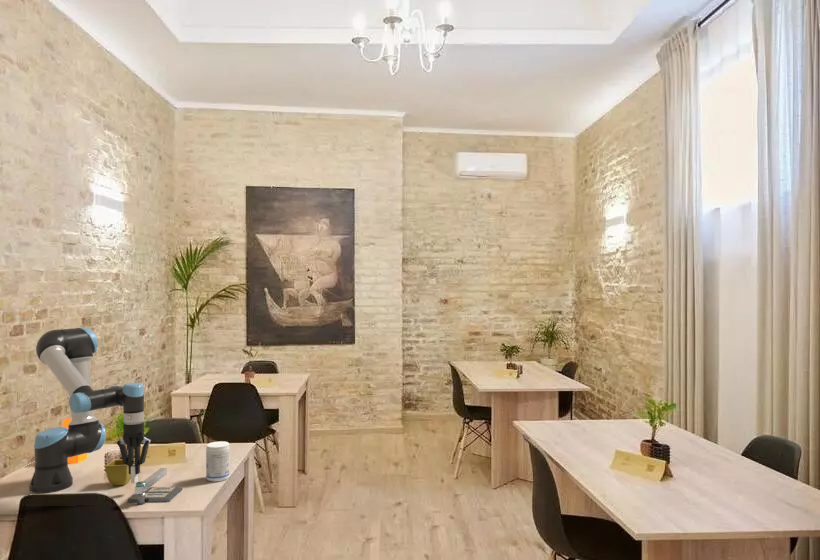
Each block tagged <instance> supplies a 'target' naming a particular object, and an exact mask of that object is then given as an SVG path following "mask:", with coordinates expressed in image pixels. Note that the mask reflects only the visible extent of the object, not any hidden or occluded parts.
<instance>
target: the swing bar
mask: <svg viewBox="0 0 820 560" xmlns="http://www.w3.org/2000/svg"><path fill="white" fill-rule="evenodd" d="M167 473H168V467H164V468H163V467H160V468H159V469H158V470H156V471H155V472H154V473H152V474H151V475H149V476H148V477H147V478H146V479H144V480H141V481H137V482H136V483H135V486H134V494H142V493H143V492H145V491H146V490H147V489H148V488H150V487H153V486H154V485H155V484H156V483H158V482H159V481H160V480H161V479H163V478H164V477H165V476H166V475H167Z"/></svg>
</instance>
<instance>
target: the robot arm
mask: <svg viewBox="0 0 820 560" xmlns="http://www.w3.org/2000/svg"><path fill="white" fill-rule="evenodd" d="M98 347H99V341H98V338H97V335H96V333H95V332H94V331H93V330H92V329H91V328H88V327H75V328H74V327H73V328H61V329H52V330H49V331H47V332H45V333H44V334H42V335H41V336H40V337H39V339H38V340H37V343H36V348H35V353H36V356H37V357H38V360H39V361H40V362H41V363H42V364H43V365H47V367H48V368H49V369H50V371H51V372H52V374H54V376H55V378H56V379H57V380H58V381H59V383H60V384H61V386H62V387H63V388H64V390H65V391H66V392H67V394H68V395H69V399H68V406H69V408H70V412H71V419H72V420H71V422H70V423H69V424H68V429H67V428H66V427H62V426H57V427H51V428H47V429H45V430H43V431H40V432H38V433H37V434H36V435H35V438H34V445H33V447H34V448H33V449H34V471H33V475H32V478H31V480H30V484H29V492H31V491H32V492H31V493H33V492H34V494H45V493H54V492H58V491H62V490H65V489H67V488H69V487H71V486H72V485H73V482H74V481H73V480H74V479H73V476H72V474H71V470H70V468H69V463H68V458H69V457H73V456H77V455H81V454H85V453H87V454H90V453H93V452H96V451H98V450H100V449H102V447H103V446H104V445H105V442H106V438H107V429H106V428H105V425H104V424H103V423H101V422H100V421H99V420H100V419H99V418H98V417H96V416H95V410H101V409H107V408H113V407H119V406H120V407H122V410H123V412H122V413H123V415H122V417H123V418H122V421H123V423H124V424H123V426H122V427H123V428H122V429H123V435H122V438H121V439H119V440H118V441H116V444H117V446H118V448H119V451H120V455H121V460H123V464H124V465H128V466H129V474H131V479H130V484H136V483H137V482H139V474H140V473H141V465H143V464H144V463H145V462H146V457H147V455H148V450H149V445H150V444H151V442H152V439H151V438H147V437H146V435H145V422H144V421H145V391H144V389H145V388H144V384H143V383H141V382H130V383H125V384H123V385H122V386H121V385H110V386H109V387H108V388H102V389H95V390H94V389H93V387H92V384H93V383H92V375H91V365H90V364H91V363H90V362H91V360H92V359H94V354H95V353H96V352H97V351H98ZM142 443H143V445H142ZM141 445H142V446H141ZM141 447H142V449H141ZM134 459H135V465H133V464H134Z"/></svg>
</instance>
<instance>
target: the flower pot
mask: <svg viewBox="0 0 820 560" xmlns="http://www.w3.org/2000/svg"><path fill="white" fill-rule="evenodd" d="M133 465H135V458H134V464H133ZM105 472H106V477H107V480H108V482H109V483H110V485H111V486H112V487H113V486H125V485H127V484H128V483H129V482H131V474H129V466H128V465H124V464H123V460H122V459H113V460H112V461H110V462H108V463H107V464H106V465H105Z"/></svg>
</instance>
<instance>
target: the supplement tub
mask: <svg viewBox="0 0 820 560" xmlns="http://www.w3.org/2000/svg"><path fill="white" fill-rule="evenodd" d="M230 449H231V448H230V443H229V442H228V441H224V440H223V441H213V442H209V443H207V444H206V448H205V450H206V451H205V459H206V460H205V461H206V462H205V465H206V467H205V471H206V472H205V473H206V474H205V476H206V480H207V481H209V482H214V483H216V482H217V483H218V482H222V481H223V482H224V481H226V480H228V479H229V478H230V475H231V474H230V472H231V471H230V470H231V468H230V464H231V459H230V454H231V453H230Z"/></svg>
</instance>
